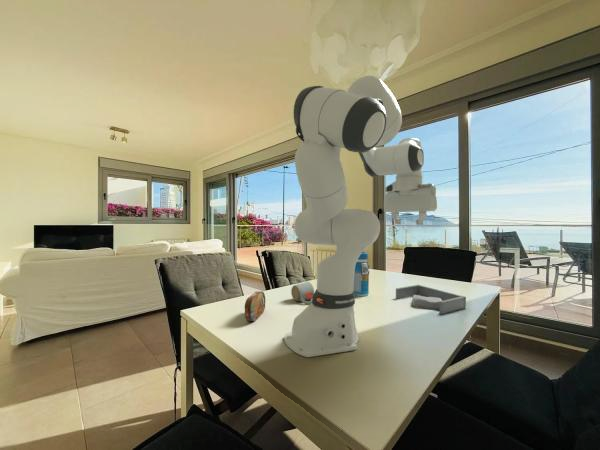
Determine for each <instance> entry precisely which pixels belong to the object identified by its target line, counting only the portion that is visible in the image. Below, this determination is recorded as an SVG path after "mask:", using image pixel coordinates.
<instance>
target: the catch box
mask: <svg viewBox="0 0 600 450" xmlns="http://www.w3.org/2000/svg"><path fill="white" fill-rule="evenodd" d="M413 295H419V296H424V297H437V298H441V300H442V301H440V310H439V314H441V315H443V314H444V315H445V314H447V313H451V312H455V311H459V310H462V309H466V308H467V307H466V306H467V305H466V304H467V303H466V302H467V297H466V296H463V295H460V294H455V293H452V292H448V291H444V290H440V289H437V288H432V287H429V286H425V285H421V284H415V285H410V286H404V287H398V288H397V287H396V288H395V300H396V299H397V300H400V299H405V298H410V297H413Z"/></svg>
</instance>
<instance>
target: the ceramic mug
mask: <svg viewBox="0 0 600 450" xmlns="http://www.w3.org/2000/svg"><path fill="white" fill-rule="evenodd" d="M306 292H311V293H313V295H314V293H315V289H314V285H313V284H312V283H311V282H310V281H306V282H302V283H297V284H295V285H293V286H292V287H291V291H290V293H291V297H292V299H293V300H294V301H295V302H301V303H303V304H304V305H310V304H311V303H312V300H311V299H308V298H306V297H305V295H306ZM309 300H310V301H309Z"/></svg>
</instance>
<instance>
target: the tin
mask: <svg viewBox="0 0 600 450" xmlns="http://www.w3.org/2000/svg"><path fill="white" fill-rule="evenodd" d="M265 309H266V295H265V292H264V291H255V292H254V293H252V294H250V295H249V297H247V298H246V300H245V303H244V319H245V320H246V321H248V322H256V321H257V320H258V319H259V318H260V317H261V315H263V314H264V312H265Z"/></svg>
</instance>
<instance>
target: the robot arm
mask: <svg viewBox="0 0 600 450" xmlns="http://www.w3.org/2000/svg"><path fill="white" fill-rule="evenodd" d="M293 105H294V106H293V122H294V125H295V133H296V135H297V137H298V138H299V140H301V141H302V142H303V143H301V145H299V147H298V148H297V150H296V152H295V154H294V165H295V166H294V167H295V171H296V175H297V179H298V184H299V186H300V189H301V193H302V194H303V198H304V200H305V201H304V202H305V204H306V208H305V209H303V210H302V211H300V212H299V213H298V214H297V215H296V218H295V220H294V224H293V225H294V227H293V228H294V233H295V236H296V237H297V239H298V240H299V241H300V242H303V243H307V244H311V245H318V246H319V245H321V246H324V245H325V246H336V251H335V253H334V254H332V255H329V256H327V257H325V258H324V259H321V261H320V262H318V265H317V267H316V289H315V290H314V295H313V293H311V292H306V295H305V297H306V298H308V299H310V300H311V301H312V303H311V304H308V306H307V307H305V308H304V310H302V311H301V312H300V313H299V314H298V315H297V316H296V317H295V318H294V320H293V322H292V327H291V331H289V332H286V333H285V334H284V337H283V338H284V343H285V345H286V346H287V347H288V348H289V349H290V350H291V351H292V352H294V353H295V354H297V355H299V356H301V357H305V358H312V357H313V358H314V357H318V356H325V355H331V354H336V353H337V354H339V353H344V352H349V351H350V352H351V351H355V350H357V347H358V345H357V343H358V341H359V339H360V338H359V334H358V332H357V331H358V330H357V325H356V319H355V309H354V306H355V303H356V295H355V292H354V290H353V285H354V271H355V265H356V262H357V260H358V258H359V256H360V255H361V253H362V252H365V250H366V249H367V248H368V247H369V246H371V245H372V244H374V243H375V242H376V240H377V239H378V237H379V235H380V231H381V224H380V223H381V222H380V219H379V218H378V216H377V214H375V212H373V211H371V210H367V209H361V208H346V206H347V204H348V202H349V192H348V188H347V183H346V177H345V172H344V168H343V166H342V162H341V160H340V159H341V158H340V156H341V155H340V154H341V149H346V150H347V151H348V152H352V153H358V155H359V156H360V159H361V161H362V163H363V167H364V171H365V173H366V174H368V175H369V176H370V177H371V178H376V177H381V176H382V177H383V176H393V175H396V176H395V181H393V182H392V183H390V184H388V185H386V186H385V187H384V193H385V194H384V197H383V198H384V199H383V210H384V211H385V212H386V213H391V216H392V218H393V220H394V225H401V224H402V220H401V219H400V218H399V215H400V213H414V212H415V213H417V212H418V215H419V217H418V219H415V225H417V226H423V225H424V219H425V218H426V216H427V212H435V211H436V210H437V209H438V203H437V202H438V201H437V188H436V186H435V185H434V184H432V183H425V184H424V183H423V174H422V169H423V168H422V167H423V166H424V157H425V156H424V154H425V153H424V149H423V147H422V143H421V140H420V139H418V138H414V137H408V138H407V137H406V138H404V139H401V140H400V141H398V144H394V145H393V144H392V145H387V144H388V143H390V142H392V140H393V139H395V138H396V136H397V135H398V133H399V131H400V130H401V127H402V124H403V117H402V111H401V108H400V105H399V104H398V101H397V100H396V97H395V96H394V94H393V93H392V91H391V90H390V89H389V87H388V85H386V83H384V82H383V81H382V79H380V78H379V77H377V76H374V75H365V76H362V77H359V78H358V79H355V81H354V82H352V83H351V84H350V85H349V87H348V88H347V90H345V89H340V88H335V87H324V86H323V85H313V86H308V87H306V88H304V89H302V90H301V91H300V92H299V93H298V94H297V96H296V98H295V101H294V104H293ZM384 145H385V146H384ZM386 145H387V146H386Z"/></svg>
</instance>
